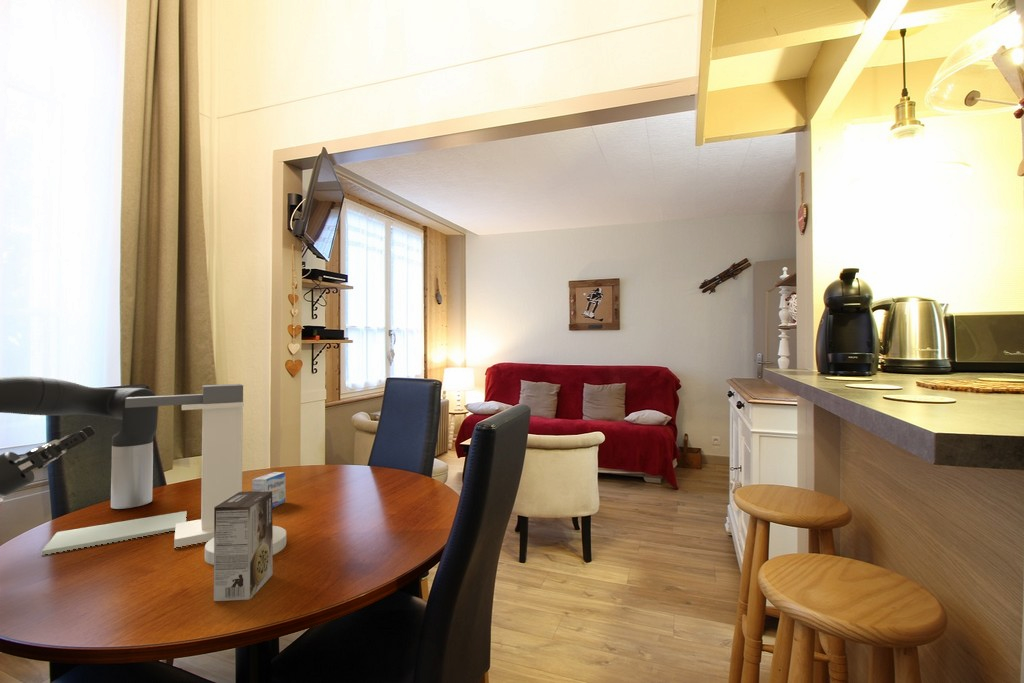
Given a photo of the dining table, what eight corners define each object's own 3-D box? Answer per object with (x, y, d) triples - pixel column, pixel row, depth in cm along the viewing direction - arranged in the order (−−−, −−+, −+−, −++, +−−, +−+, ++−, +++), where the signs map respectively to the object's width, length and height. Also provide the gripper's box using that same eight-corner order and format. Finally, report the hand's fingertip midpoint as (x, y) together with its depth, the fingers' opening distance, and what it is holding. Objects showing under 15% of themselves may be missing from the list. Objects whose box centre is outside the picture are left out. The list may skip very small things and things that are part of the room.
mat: (56, 536, 109) (56, 532, 109) (186, 514, 123) (186, 510, 123) (42, 555, 98) (42, 550, 98) (186, 529, 112) (186, 525, 112)
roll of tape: (300, 546, 102) (300, 533, 102) (225, 574, 89) (225, 559, 89) (263, 532, 111) (263, 520, 111) (191, 555, 98) (191, 542, 98)
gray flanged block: (128, 405, 105) (128, 388, 105) (240, 399, 117) (240, 383, 118) (124, 408, 98) (124, 389, 98) (243, 401, 111) (243, 385, 111)
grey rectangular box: (238, 576, 88) (239, 491, 88) (273, 575, 88) (274, 489, 89) (211, 602, 78) (212, 506, 79) (250, 600, 79) (251, 505, 79)
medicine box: (266, 511, 125) (266, 479, 125) (251, 510, 126) (252, 478, 126) (285, 502, 133) (286, 472, 133) (272, 501, 133) (272, 471, 134)
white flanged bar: (175, 531, 111) (177, 402, 112) (243, 519, 119) (244, 398, 120) (174, 548, 101) (175, 406, 102) (247, 534, 109) (248, 402, 110)
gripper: (-38, 473, 83) (70, 420, 91) (-9, 459, 95) (84, 413, 103) (-8, 505, 85) (95, 451, 93) (16, 487, 97) (106, 441, 105)
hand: (89, 431), depth 98 cm, fingers open, 8 cm apart
